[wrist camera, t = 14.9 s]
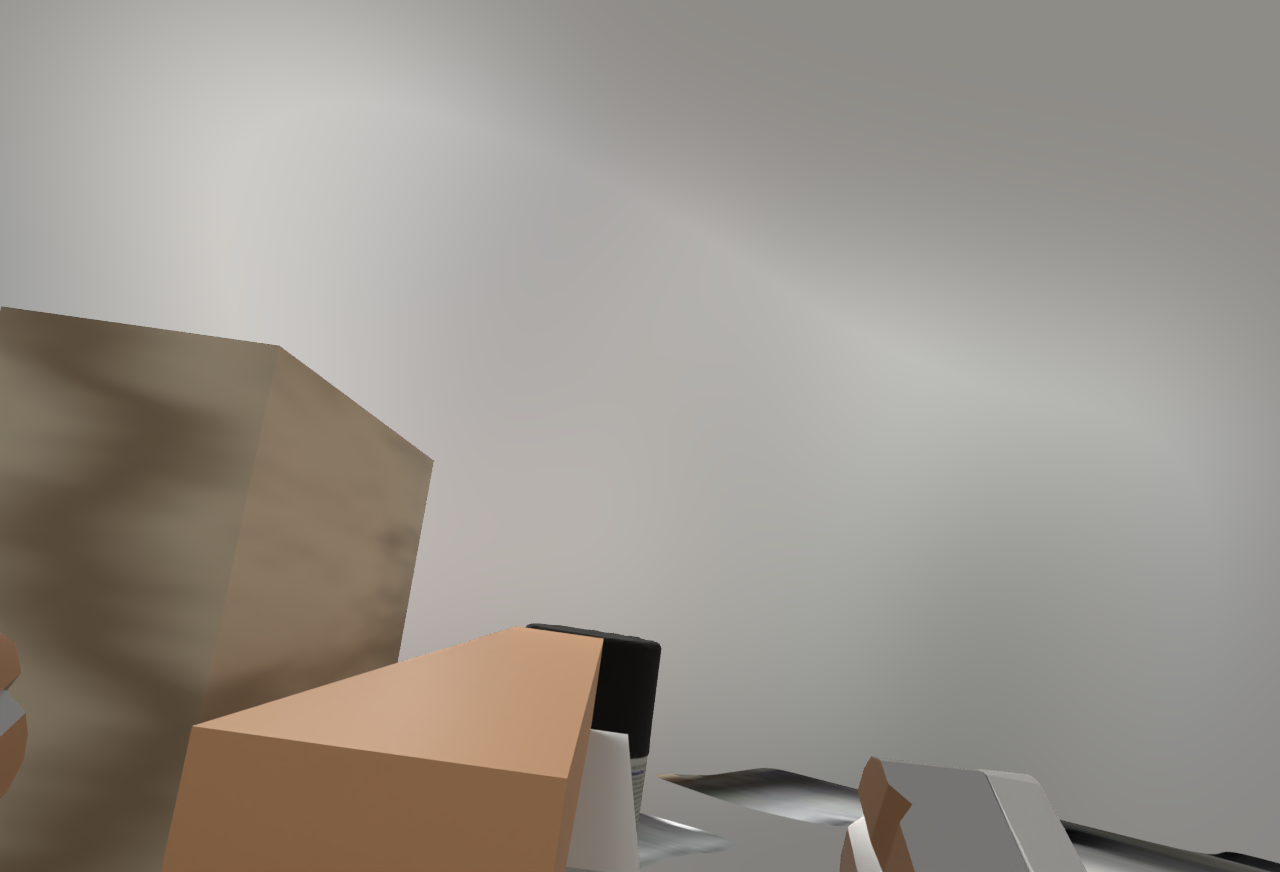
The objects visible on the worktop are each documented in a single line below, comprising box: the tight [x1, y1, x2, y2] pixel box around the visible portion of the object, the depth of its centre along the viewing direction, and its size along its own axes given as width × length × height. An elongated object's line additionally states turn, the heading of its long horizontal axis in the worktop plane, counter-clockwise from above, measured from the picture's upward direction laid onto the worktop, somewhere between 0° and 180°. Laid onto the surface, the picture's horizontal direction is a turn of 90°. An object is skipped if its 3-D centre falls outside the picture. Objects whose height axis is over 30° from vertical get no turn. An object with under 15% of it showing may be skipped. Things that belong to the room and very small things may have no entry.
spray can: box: [526, 624, 661, 833], centre depth 42 cm, size 7×7×20 cm
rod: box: [161, 626, 604, 872], centre depth 20 cm, size 3×26×3 cm, turn 2°
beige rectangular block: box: [0, 307, 434, 872], centre depth 26 cm, size 6×17×26 cm, turn 2°
